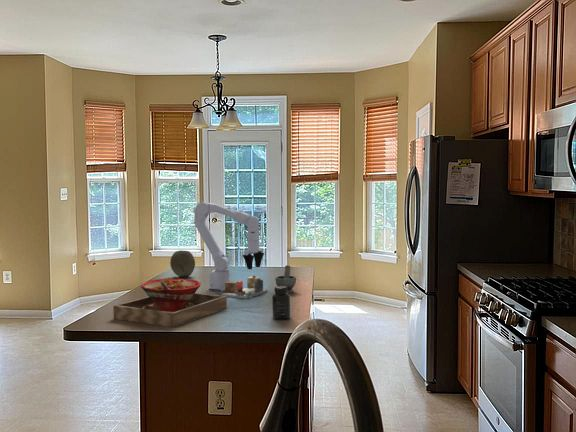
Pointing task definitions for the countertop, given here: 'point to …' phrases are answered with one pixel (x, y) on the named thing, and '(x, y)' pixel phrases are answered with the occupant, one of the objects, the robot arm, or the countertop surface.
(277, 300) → the supplement bottle
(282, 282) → the mortar and pestle
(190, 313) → the wooden tray
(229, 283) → the block
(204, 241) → the robot arm
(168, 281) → the stew
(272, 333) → the countertop surface
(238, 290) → the lever
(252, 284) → the block
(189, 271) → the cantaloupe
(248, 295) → the rail
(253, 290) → the press
